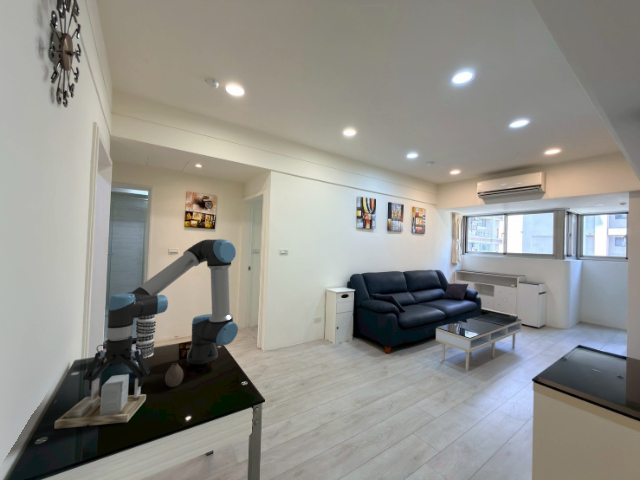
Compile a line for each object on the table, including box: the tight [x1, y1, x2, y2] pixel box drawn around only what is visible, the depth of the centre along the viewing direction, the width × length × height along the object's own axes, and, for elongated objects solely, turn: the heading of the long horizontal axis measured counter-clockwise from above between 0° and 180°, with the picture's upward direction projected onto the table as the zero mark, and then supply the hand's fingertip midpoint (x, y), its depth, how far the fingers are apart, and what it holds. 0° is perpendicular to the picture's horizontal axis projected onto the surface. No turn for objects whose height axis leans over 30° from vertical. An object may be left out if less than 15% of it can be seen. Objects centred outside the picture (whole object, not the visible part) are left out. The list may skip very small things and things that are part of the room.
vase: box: [164, 362, 184, 388], centre depth 111 cm, size 7×7×9 cm
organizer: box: [54, 393, 147, 429], centre depth 91 cm, size 21×13×4 cm, turn 101°
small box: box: [100, 373, 130, 416], centre depth 92 cm, size 8×6×10 cm
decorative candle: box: [134, 314, 157, 359], centre depth 140 cm, size 9×9×25 cm
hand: (116, 397), depth 91 cm, fingers open, 13 cm apart
